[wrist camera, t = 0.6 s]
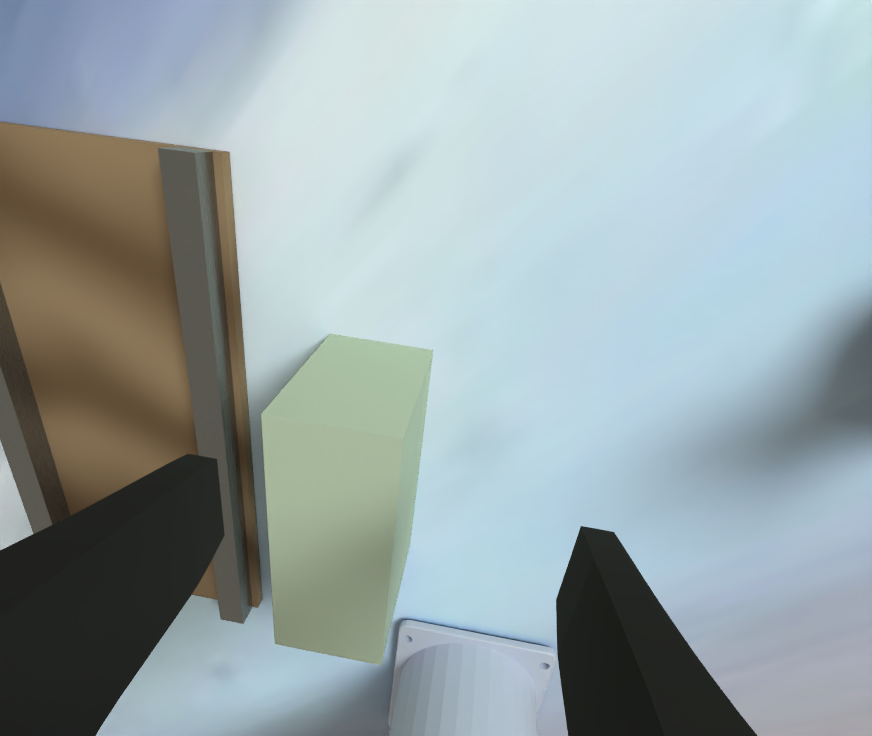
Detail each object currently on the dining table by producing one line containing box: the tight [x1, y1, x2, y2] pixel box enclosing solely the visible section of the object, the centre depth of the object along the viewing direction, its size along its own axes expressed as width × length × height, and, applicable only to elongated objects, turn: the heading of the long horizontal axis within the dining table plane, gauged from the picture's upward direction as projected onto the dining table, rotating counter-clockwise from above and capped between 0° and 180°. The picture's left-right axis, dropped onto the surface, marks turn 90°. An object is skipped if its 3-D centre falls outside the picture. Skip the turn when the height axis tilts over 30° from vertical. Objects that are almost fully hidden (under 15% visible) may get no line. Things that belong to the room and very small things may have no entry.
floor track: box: [0, 122, 262, 624], centre depth 21 cm, size 22×11×2 cm, turn 174°
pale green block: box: [261, 334, 433, 665], centre depth 18 cm, size 10×4×6 cm, turn 174°
